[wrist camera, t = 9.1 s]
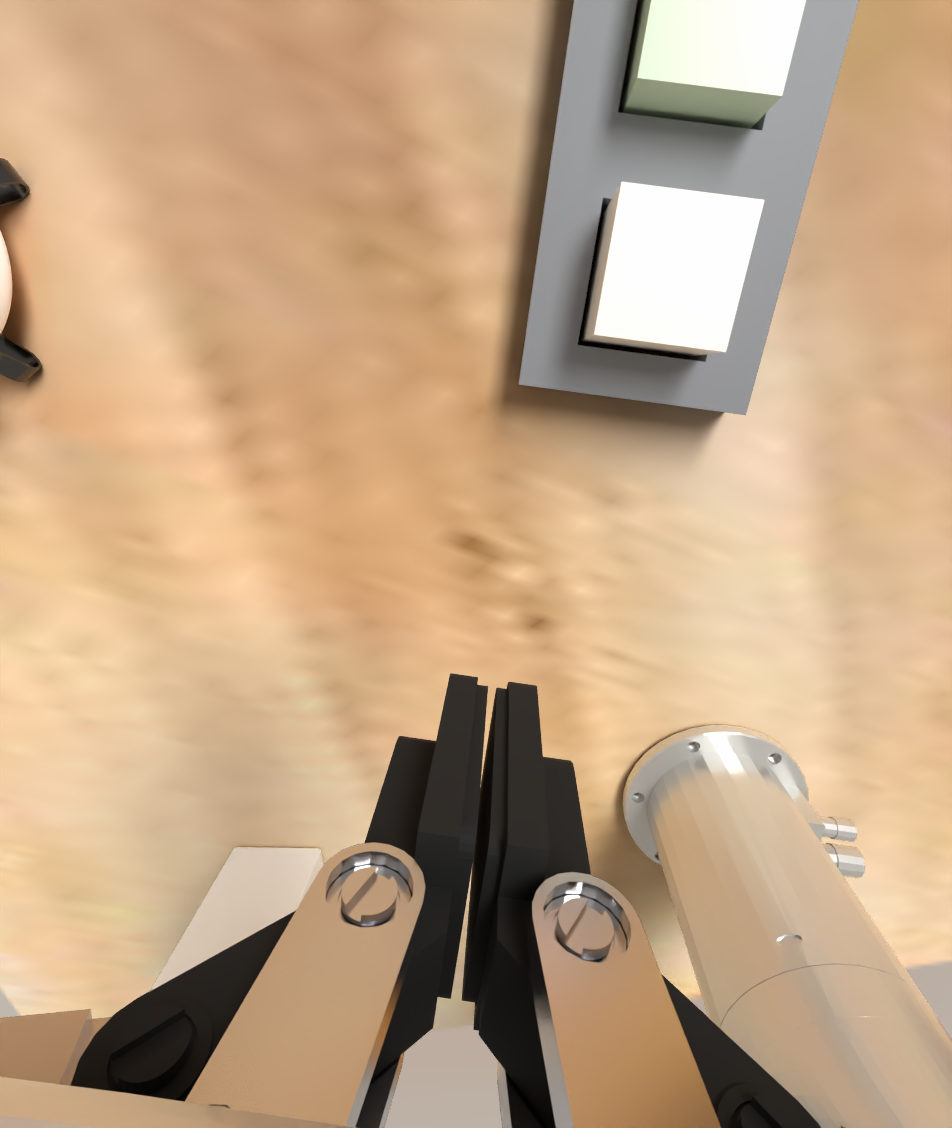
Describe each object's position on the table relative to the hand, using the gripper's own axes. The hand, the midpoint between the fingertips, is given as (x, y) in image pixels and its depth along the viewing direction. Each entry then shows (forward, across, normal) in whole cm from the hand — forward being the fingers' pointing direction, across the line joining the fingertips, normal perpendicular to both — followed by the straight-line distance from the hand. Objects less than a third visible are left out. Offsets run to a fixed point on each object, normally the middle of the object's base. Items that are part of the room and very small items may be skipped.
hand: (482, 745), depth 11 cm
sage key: (+25, -6, -22) cm, 34 cm away
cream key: (+24, -6, -12) cm, 27 cm away
